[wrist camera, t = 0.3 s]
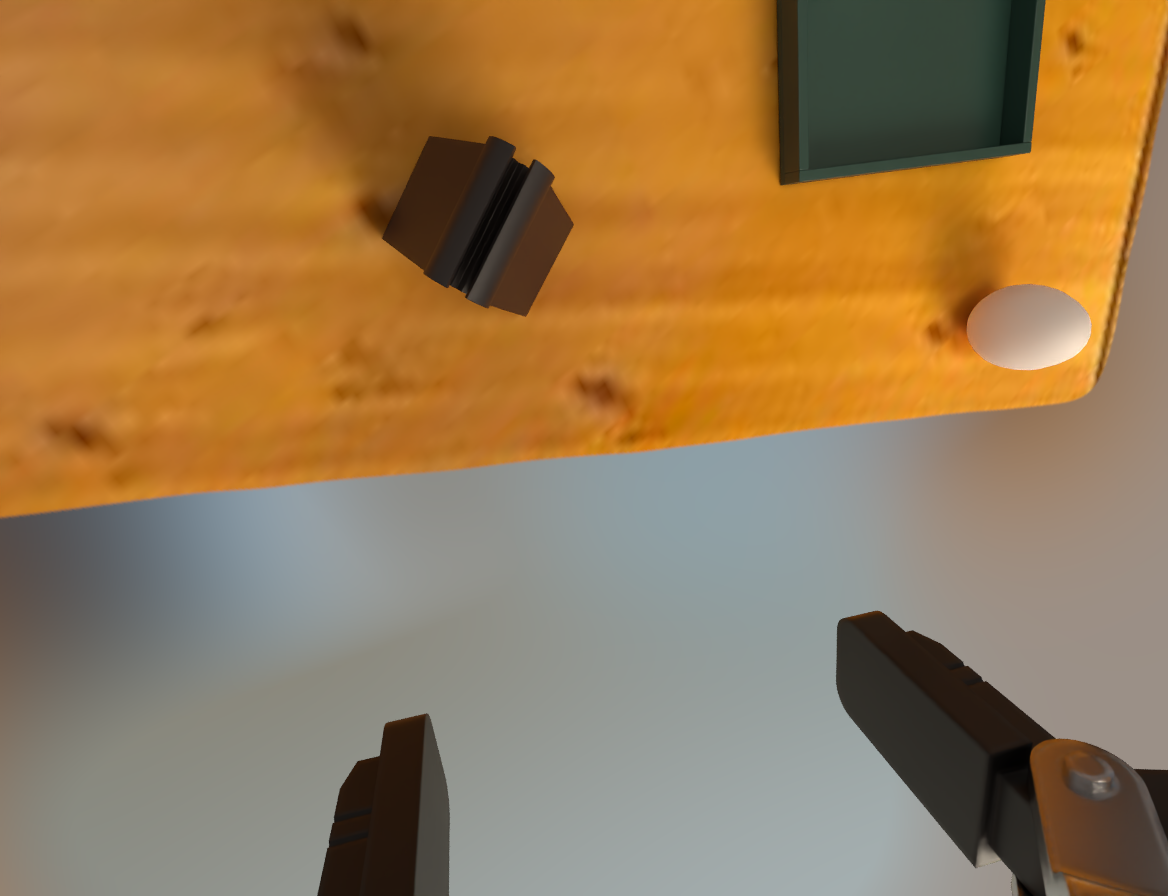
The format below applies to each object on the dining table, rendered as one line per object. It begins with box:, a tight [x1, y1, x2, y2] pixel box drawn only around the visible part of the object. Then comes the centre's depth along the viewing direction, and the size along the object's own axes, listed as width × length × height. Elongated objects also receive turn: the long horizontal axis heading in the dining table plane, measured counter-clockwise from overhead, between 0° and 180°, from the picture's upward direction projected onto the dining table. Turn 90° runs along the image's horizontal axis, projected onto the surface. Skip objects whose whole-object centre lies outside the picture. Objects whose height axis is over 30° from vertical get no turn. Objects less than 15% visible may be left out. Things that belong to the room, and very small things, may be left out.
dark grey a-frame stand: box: [382, 136, 574, 317], centre depth 30 cm, size 9×6×12 cm, turn 60°
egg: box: [966, 284, 1091, 370], centre depth 40 cm, size 5×5×8 cm
